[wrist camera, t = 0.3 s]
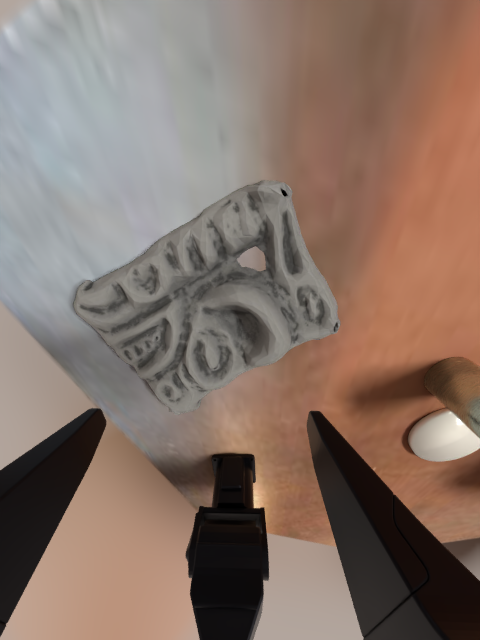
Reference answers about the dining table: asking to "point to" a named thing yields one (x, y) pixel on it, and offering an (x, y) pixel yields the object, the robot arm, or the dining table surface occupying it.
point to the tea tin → (457, 389)
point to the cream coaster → (442, 437)
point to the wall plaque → (213, 298)
